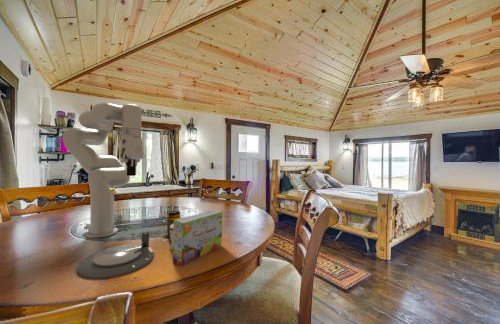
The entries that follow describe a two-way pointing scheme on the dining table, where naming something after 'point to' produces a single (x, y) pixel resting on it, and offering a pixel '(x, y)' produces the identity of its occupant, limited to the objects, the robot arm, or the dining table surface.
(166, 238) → the condiment
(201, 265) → the dining table surface
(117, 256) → the dial
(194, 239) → the snack box
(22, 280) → the dining table surface
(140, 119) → the robot arm
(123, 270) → the dial plate
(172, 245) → the teacup with lid
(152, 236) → the dining table surface
